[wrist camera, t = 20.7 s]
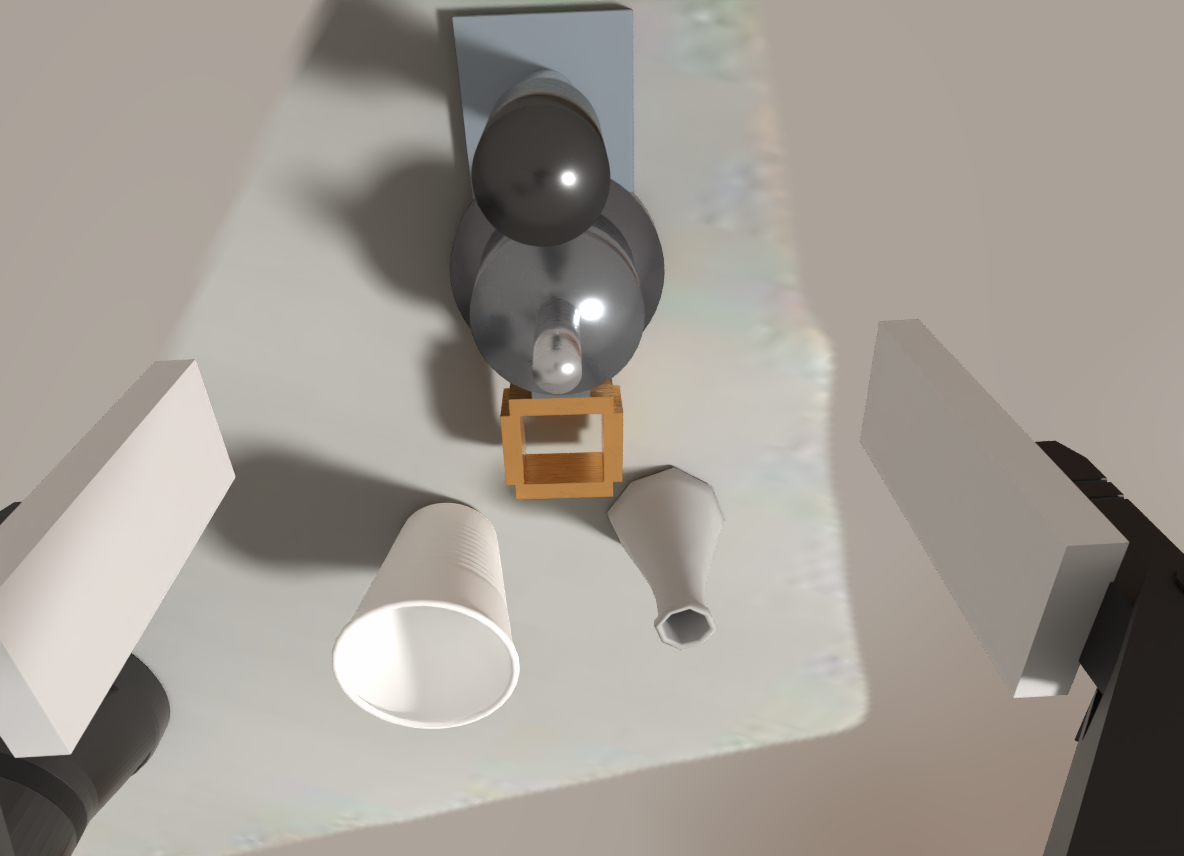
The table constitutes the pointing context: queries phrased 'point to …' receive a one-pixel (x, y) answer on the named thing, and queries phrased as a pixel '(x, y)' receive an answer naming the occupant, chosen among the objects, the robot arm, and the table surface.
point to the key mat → (556, 42)
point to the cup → (432, 626)
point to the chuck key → (541, 162)
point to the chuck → (559, 349)
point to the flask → (672, 548)
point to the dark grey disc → (618, 209)
